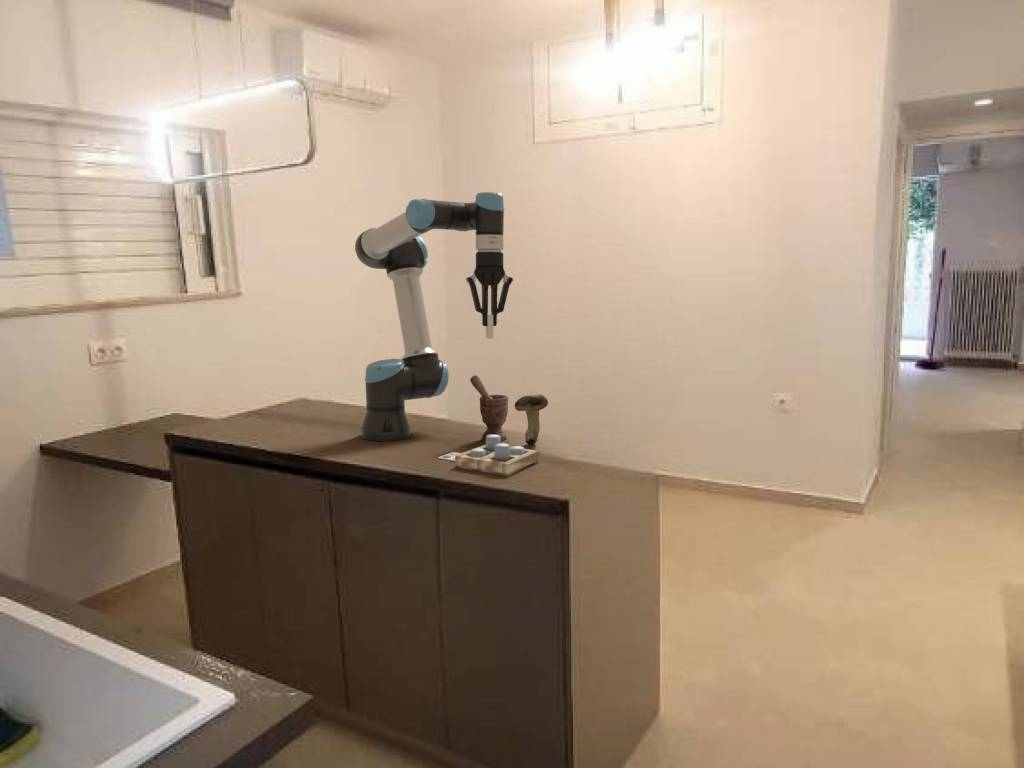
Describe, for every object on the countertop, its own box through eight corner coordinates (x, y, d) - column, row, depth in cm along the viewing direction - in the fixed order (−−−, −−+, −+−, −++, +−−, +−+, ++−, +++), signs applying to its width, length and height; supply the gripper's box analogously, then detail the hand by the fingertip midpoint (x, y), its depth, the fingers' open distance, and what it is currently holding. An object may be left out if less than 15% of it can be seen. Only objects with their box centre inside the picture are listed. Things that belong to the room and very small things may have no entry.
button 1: (467, 464, 188) (467, 450, 187) (475, 460, 191) (475, 447, 190) (480, 466, 186) (480, 452, 185) (488, 463, 189) (488, 449, 188)
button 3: (491, 459, 183) (491, 445, 183) (499, 456, 187) (499, 442, 186) (504, 461, 181) (504, 447, 181) (512, 458, 185) (512, 444, 184)
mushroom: (553, 444, 212) (554, 394, 209) (534, 450, 205) (535, 398, 203) (529, 439, 218) (529, 391, 215) (510, 444, 211) (510, 394, 209)
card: (437, 458, 195) (437, 457, 195) (452, 453, 201) (452, 451, 201) (459, 462, 192) (459, 460, 192) (473, 456, 198) (473, 455, 198)
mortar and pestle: (486, 445, 211) (486, 378, 208) (466, 440, 216) (466, 375, 213) (513, 438, 219) (513, 374, 216) (493, 434, 225) (493, 371, 222)
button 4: (506, 461, 190) (506, 448, 190) (514, 458, 194) (514, 445, 193) (519, 464, 188) (519, 450, 188) (527, 460, 191) (527, 447, 191)
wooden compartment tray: (455, 466, 187) (455, 455, 186) (488, 453, 200) (488, 443, 200) (507, 476, 179) (507, 464, 178) (538, 461, 192) (538, 450, 192)
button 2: (483, 449, 194) (483, 436, 193) (490, 446, 197) (490, 433, 196) (495, 451, 192) (495, 438, 191) (503, 448, 195) (503, 435, 194)
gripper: (468, 250, 189) (468, 339, 192) (516, 251, 192) (515, 339, 196) (463, 251, 196) (463, 337, 200) (509, 252, 199) (509, 336, 203)
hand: (489, 338), depth 198 cm, fingers closed
